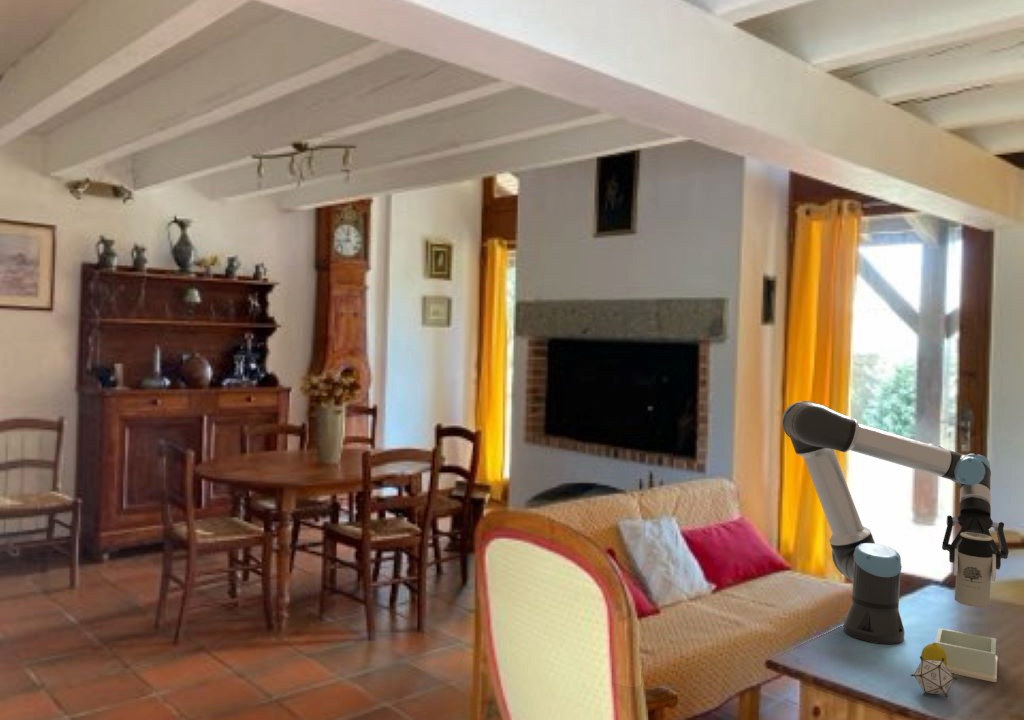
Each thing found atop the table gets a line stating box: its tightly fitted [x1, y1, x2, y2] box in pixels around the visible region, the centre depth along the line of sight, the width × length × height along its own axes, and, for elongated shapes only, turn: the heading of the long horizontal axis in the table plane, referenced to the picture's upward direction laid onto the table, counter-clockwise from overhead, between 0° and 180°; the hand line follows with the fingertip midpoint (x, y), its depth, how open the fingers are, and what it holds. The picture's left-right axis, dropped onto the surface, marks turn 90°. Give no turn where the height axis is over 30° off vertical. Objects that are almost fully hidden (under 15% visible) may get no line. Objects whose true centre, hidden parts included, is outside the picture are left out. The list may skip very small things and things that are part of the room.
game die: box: [910, 655, 959, 699], centre depth 189 cm, size 9×8×10 cm
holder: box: [934, 627, 998, 683], centre depth 209 cm, size 18×14×6 cm
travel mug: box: [954, 532, 994, 609], centre depth 221 cm, size 8×8×18 cm
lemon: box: [920, 642, 947, 665], centre depth 200 cm, size 6×6×8 cm
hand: (974, 575), depth 218 cm, fingers closed on travel mug, 8 cm apart
